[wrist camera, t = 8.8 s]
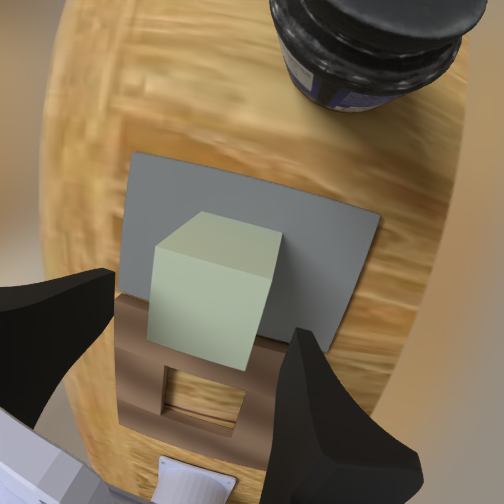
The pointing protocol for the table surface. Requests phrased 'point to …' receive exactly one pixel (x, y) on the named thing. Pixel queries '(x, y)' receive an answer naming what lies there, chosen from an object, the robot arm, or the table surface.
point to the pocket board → (160, 357)
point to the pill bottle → (369, 46)
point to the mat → (260, 214)
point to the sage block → (212, 288)
